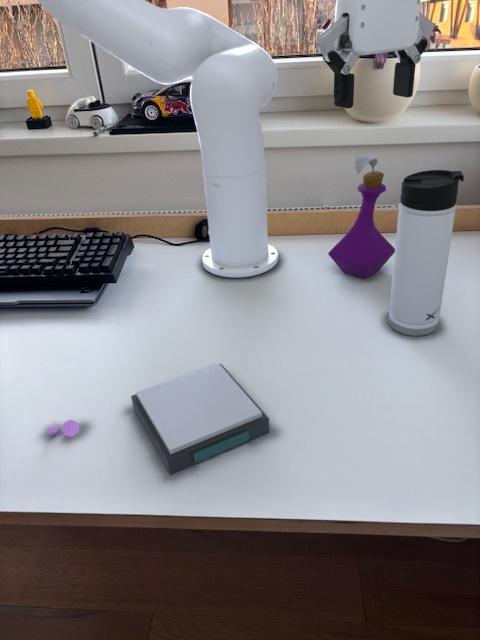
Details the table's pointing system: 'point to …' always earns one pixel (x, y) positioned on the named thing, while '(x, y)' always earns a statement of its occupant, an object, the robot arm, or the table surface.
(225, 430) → the kitchen scale
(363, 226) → the purple potion bottle
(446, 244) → the travel mug
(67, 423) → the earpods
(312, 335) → the table surface
